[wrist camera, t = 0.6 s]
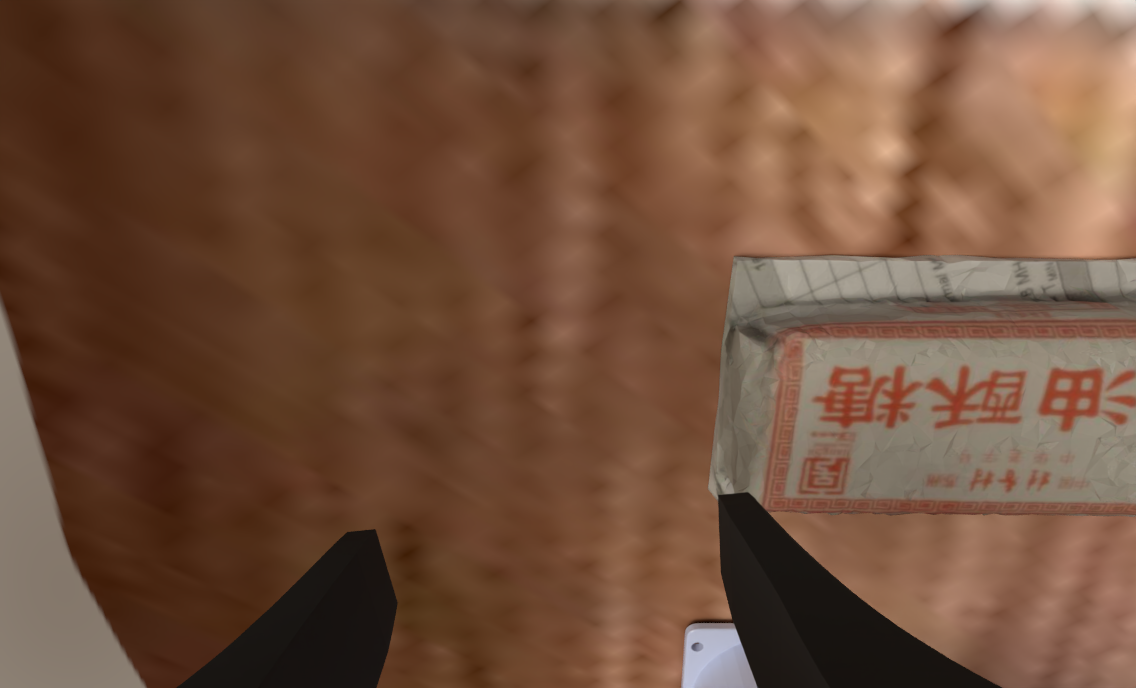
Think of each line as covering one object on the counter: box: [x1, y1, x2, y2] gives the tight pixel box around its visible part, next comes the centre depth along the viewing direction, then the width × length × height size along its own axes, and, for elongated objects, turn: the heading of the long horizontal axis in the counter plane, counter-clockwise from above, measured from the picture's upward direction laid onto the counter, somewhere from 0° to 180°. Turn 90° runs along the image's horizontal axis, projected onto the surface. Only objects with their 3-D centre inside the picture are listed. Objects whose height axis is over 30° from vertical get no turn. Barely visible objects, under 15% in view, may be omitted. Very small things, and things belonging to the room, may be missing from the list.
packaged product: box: [708, 255, 1136, 517], centre depth 21 cm, size 18×5×10 cm
